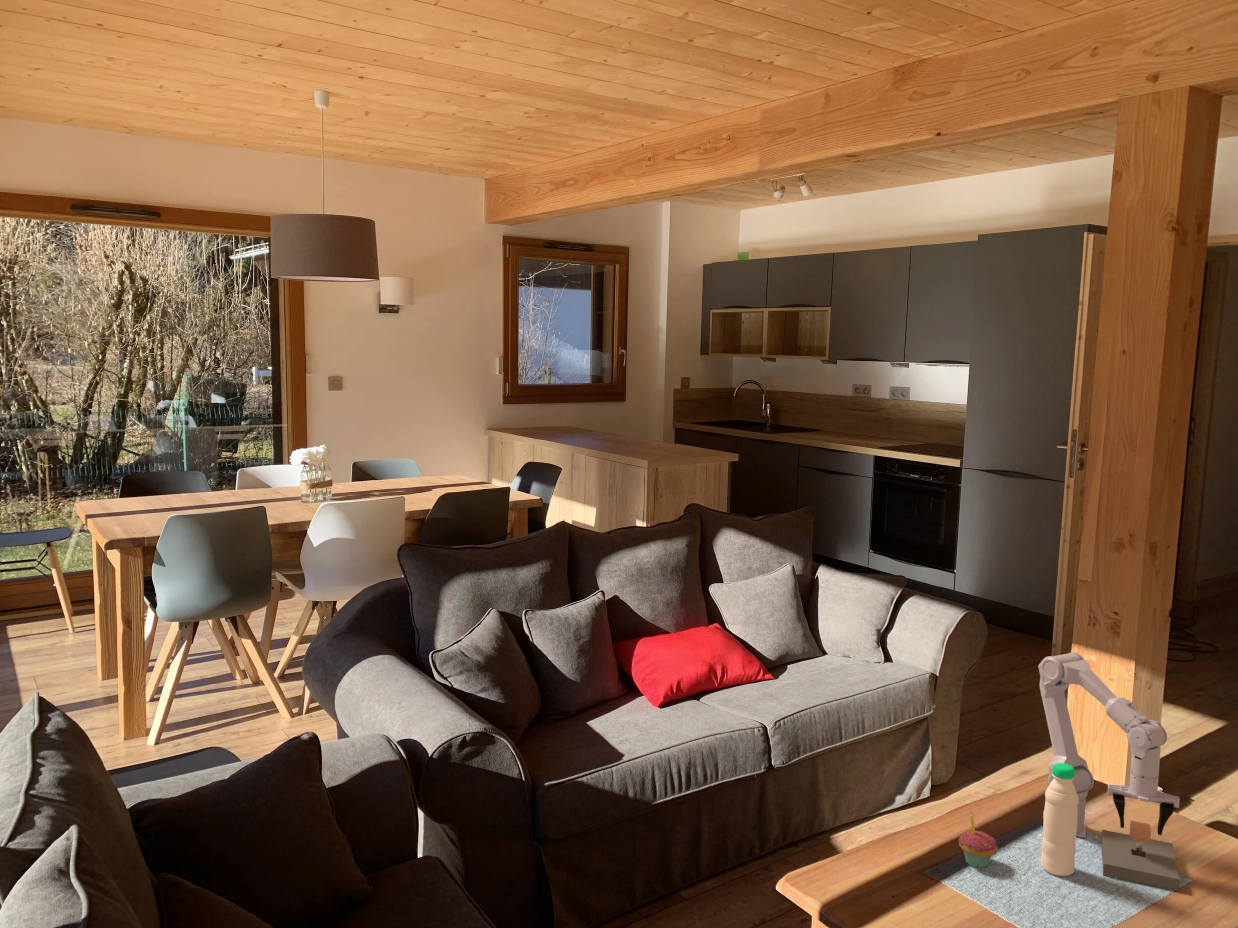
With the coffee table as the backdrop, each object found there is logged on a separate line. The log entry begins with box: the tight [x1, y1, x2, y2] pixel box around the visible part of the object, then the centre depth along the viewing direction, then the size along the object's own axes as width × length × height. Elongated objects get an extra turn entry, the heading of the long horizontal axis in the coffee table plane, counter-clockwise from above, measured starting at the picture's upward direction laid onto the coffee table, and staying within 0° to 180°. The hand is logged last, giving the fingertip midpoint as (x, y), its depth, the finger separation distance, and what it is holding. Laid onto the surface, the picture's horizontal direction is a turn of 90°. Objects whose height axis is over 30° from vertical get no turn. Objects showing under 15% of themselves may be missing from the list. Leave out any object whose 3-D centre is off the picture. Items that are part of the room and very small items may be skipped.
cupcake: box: [958, 811, 999, 869], centre depth 224 cm, size 9×8×12 cm
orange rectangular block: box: [1129, 820, 1152, 853], centre depth 223 cm, size 4×4×6 cm
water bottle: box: [1040, 763, 1079, 877], centre depth 220 cm, size 7×7×25 cm
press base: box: [1100, 829, 1180, 892], centre depth 224 cm, size 15×18×3 cm
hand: (1140, 829), depth 223 cm, fingers open, 7 cm apart
